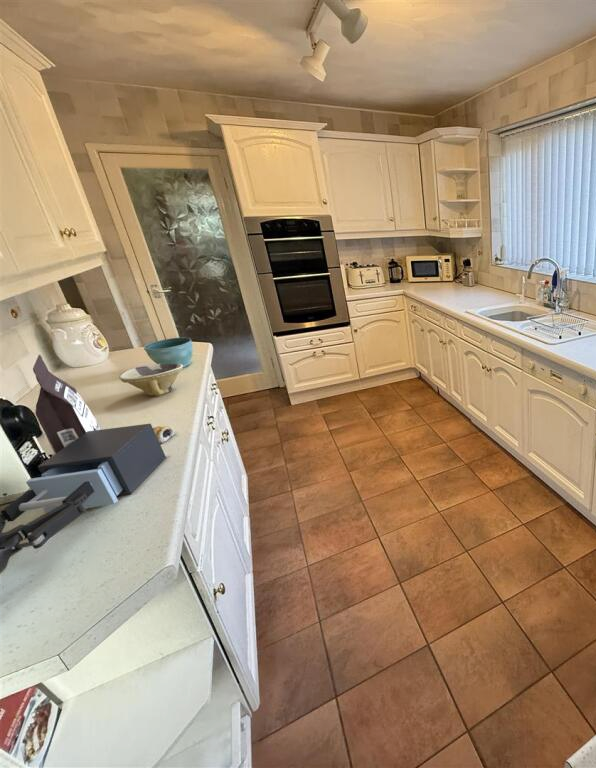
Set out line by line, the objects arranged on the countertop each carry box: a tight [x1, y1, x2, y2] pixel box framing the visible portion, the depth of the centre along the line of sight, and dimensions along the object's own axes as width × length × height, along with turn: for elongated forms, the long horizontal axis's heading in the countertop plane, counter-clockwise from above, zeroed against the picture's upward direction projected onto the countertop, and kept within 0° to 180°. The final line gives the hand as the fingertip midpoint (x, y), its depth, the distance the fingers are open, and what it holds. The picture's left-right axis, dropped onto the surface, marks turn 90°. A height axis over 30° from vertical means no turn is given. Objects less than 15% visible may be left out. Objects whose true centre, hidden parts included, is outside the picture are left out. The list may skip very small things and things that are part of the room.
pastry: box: [152, 425, 176, 444], centre depth 116 cm, size 9×7×4 cm
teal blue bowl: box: [143, 337, 194, 368], centre depth 172 cm, size 16×16×11 cm
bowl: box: [118, 363, 184, 397], centre depth 147 cm, size 18×18×10 cm
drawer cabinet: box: [37, 423, 167, 497], centre depth 97 cm, size 16×14×11 cm
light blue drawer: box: [19, 460, 124, 514], centre depth 90 cm, size 21×13×9 cm, turn 15°
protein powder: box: [32, 354, 102, 455], centre depth 104 cm, size 16×9×28 cm, turn 44°
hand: (62, 490), depth 84 cm, fingers closed on light blue drawer, 9 cm apart
